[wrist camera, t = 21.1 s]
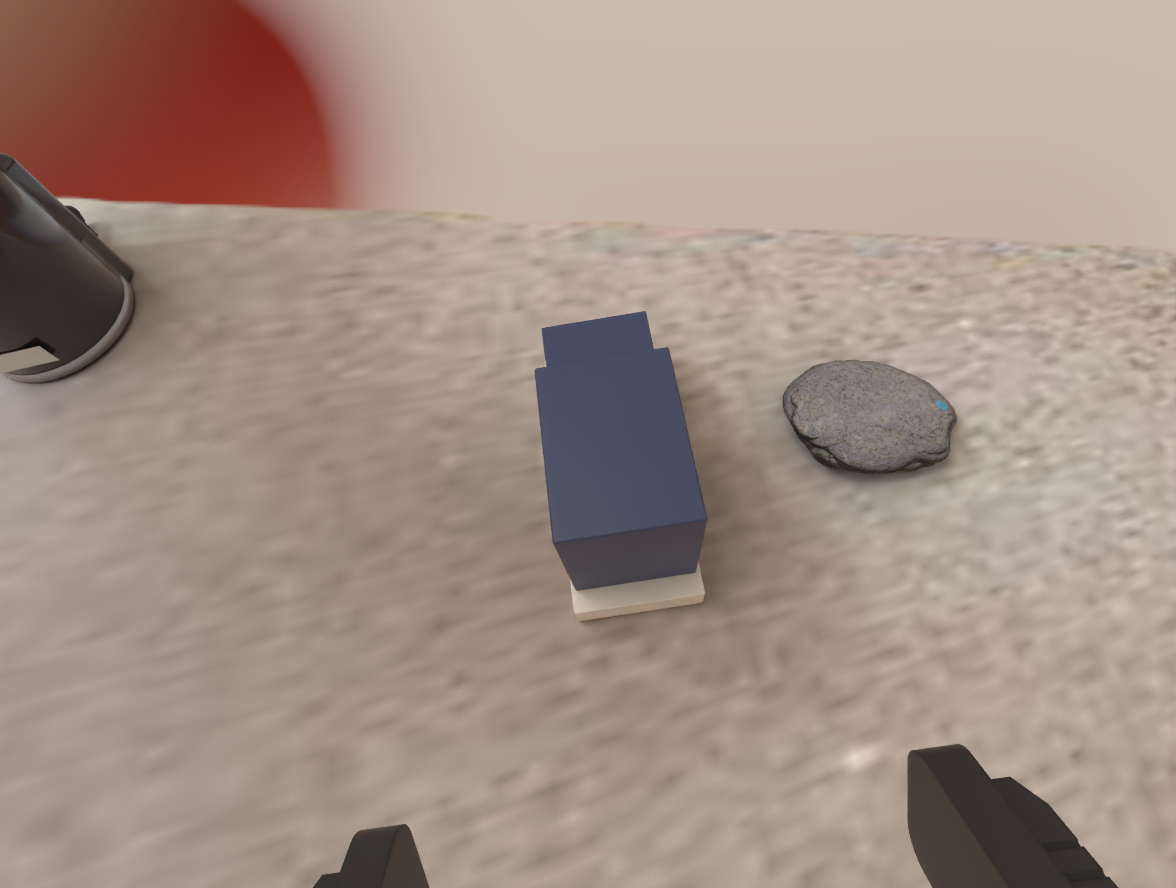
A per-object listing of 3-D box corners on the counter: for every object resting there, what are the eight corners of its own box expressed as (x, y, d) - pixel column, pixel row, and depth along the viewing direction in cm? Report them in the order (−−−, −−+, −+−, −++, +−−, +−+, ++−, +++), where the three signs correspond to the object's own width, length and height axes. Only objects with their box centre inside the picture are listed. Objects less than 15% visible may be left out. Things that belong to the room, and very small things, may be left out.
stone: (797, 352, 36) (805, 328, 34) (954, 394, 34) (972, 370, 32) (763, 454, 33) (770, 434, 31) (931, 507, 31) (950, 489, 29)
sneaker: (702, 602, 30) (719, 546, 22) (577, 621, 30) (550, 572, 22) (652, 360, 36) (650, 247, 28) (549, 376, 37) (519, 269, 29)
